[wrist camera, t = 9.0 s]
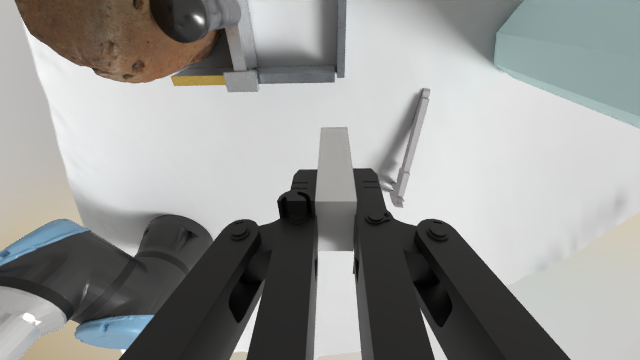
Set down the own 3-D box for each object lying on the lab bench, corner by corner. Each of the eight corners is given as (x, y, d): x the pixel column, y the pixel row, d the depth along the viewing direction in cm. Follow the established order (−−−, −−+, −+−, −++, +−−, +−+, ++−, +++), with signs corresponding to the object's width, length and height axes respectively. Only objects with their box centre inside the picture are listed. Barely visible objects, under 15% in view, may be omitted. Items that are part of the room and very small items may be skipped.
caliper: (393, 192, 50) (401, 213, 44) (388, 191, 50) (395, 212, 44) (429, 88, 38) (444, 101, 33) (422, 88, 38) (436, 101, 33)
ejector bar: (241, 80, 38) (190, 122, 24) (208, -86, 27) (85, -175, 14) (267, 79, 37) (230, 122, 24) (243, -88, 27) (154, -181, 14)
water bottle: (474, 71, 36) (660, 159, 15) (511, -16, 30) (890, -59, 10) (541, 79, 36) (812, 175, 16) (591, -6, 30) (1127, -30, 10)
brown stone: (179, -54, 29) (-26, -134, 13) (239, -16, 31) (125, -43, 15) (166, 38, 35) (13, 64, 19) (217, 66, 37) (118, 112, 20)
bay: (191, 76, 38) (174, 85, 34) (144, -74, 28) (111, -87, 24) (343, 73, 37) (345, 82, 32) (347, -85, 27) (350, -101, 23)
